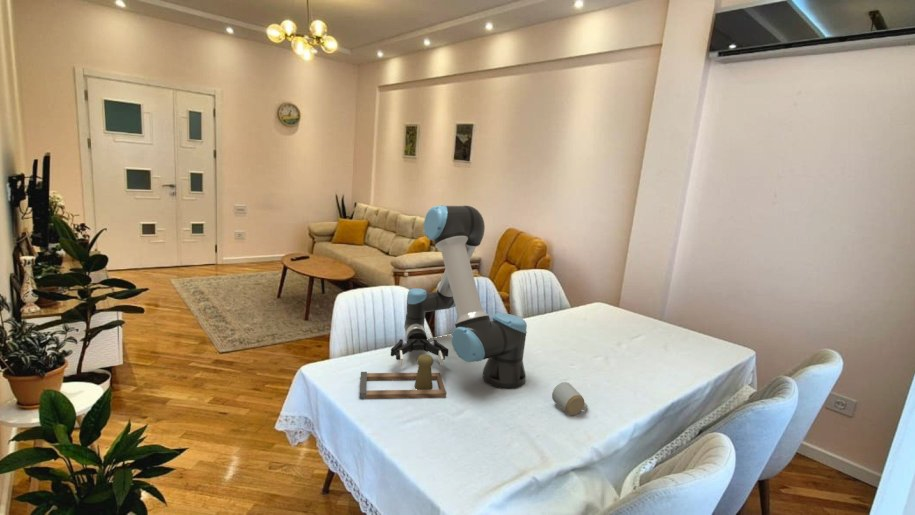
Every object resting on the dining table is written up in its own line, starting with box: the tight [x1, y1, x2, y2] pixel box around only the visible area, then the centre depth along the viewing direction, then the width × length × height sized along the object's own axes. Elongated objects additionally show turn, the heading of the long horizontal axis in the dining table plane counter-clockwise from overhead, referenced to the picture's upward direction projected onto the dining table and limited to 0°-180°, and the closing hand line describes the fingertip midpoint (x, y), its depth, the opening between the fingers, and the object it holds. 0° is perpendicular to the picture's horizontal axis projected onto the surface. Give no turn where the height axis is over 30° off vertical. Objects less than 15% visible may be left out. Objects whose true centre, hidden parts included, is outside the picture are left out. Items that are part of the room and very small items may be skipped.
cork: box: [413, 354, 434, 390], centre depth 149 cm, size 6×6×11 cm
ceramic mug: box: [551, 381, 589, 416], centre depth 143 cm, size 11×8×8 cm
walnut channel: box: [365, 372, 447, 400], centre depth 148 cm, size 25×14×2 cm, turn 100°
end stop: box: [358, 371, 368, 400], centre depth 146 cm, size 2×14×2 cm, turn 10°
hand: (422, 362), depth 152 cm, fingers open, 13 cm apart
